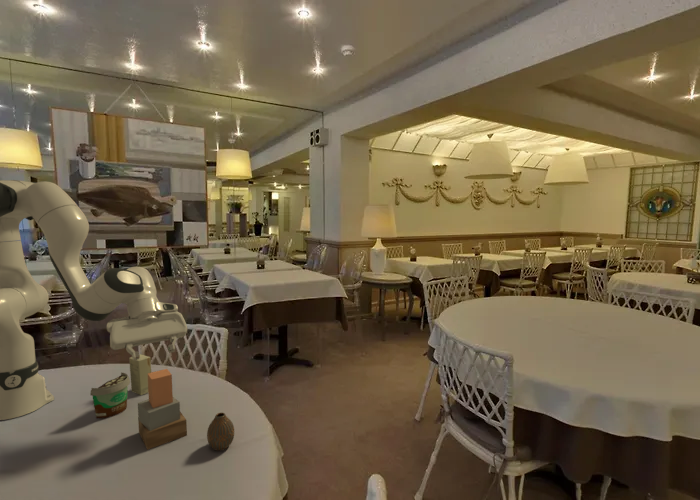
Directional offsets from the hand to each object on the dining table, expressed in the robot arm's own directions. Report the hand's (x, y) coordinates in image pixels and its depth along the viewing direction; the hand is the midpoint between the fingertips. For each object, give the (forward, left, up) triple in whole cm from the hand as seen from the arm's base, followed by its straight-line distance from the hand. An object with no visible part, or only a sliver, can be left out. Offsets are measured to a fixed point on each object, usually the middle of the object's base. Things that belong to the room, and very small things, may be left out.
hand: (154, 355), depth 109 cm
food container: (-17, -8, -21) cm, 28 cm away
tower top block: (+6, -1, -17) cm, 18 cm away
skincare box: (-27, +1, -21) cm, 34 cm away
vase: (+21, +10, -21) cm, 32 cm away
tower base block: (+6, 0, -22) cm, 22 cm away
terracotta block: (+6, 0, -12) cm, 13 cm away
